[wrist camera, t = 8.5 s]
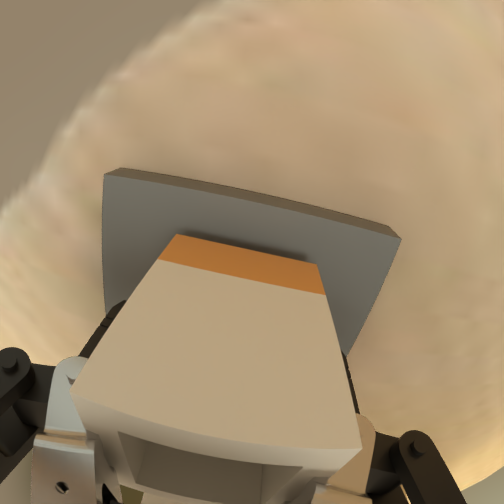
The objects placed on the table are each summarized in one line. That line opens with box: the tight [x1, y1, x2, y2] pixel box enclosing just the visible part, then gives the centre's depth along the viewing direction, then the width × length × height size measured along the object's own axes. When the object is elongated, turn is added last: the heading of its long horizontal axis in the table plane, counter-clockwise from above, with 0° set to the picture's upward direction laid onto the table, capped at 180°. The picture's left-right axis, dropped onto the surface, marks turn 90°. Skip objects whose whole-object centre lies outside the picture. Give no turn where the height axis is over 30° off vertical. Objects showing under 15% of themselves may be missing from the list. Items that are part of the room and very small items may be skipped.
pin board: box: [102, 168, 401, 504], centre depth 12 cm, size 20×12×8 cm, turn 168°
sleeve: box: [69, 234, 363, 504], centre depth 8 cm, size 5×5×7 cm
